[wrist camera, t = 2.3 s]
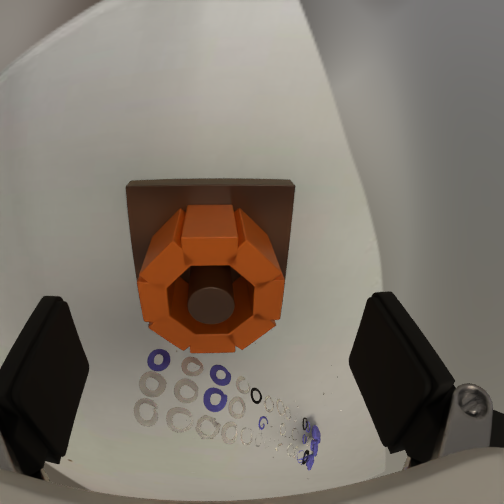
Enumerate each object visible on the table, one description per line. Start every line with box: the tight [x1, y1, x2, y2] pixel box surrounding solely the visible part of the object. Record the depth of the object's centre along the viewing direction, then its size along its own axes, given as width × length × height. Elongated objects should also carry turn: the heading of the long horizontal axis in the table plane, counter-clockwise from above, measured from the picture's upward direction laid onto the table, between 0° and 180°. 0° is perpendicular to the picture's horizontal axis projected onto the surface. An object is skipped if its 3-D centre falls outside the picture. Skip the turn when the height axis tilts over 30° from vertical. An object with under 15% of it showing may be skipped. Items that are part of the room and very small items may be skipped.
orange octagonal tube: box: [137, 205, 285, 353], centre depth 17 cm, size 7×7×4 cm
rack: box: [126, 179, 295, 324], centre depth 17 cm, size 9×9×6 cm
